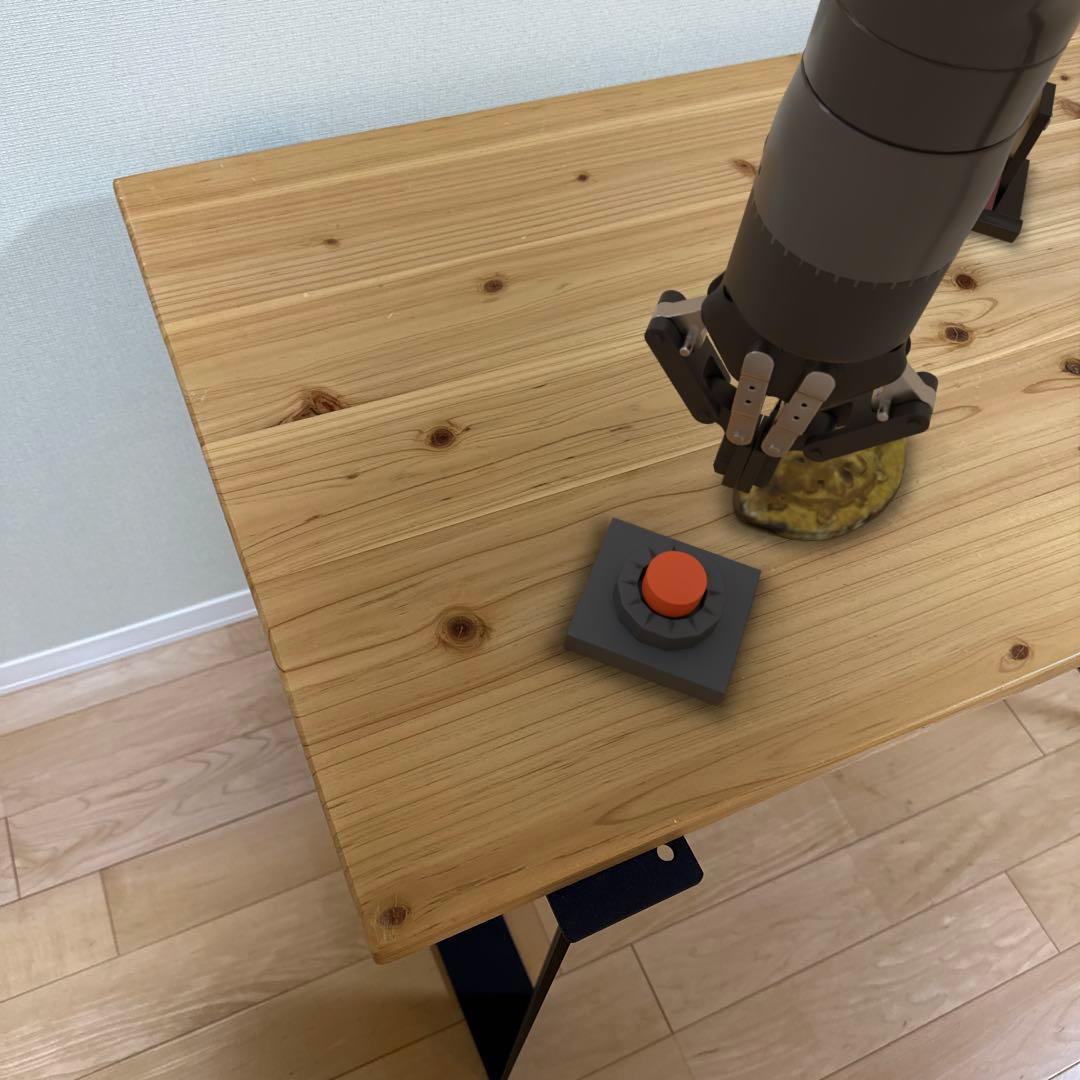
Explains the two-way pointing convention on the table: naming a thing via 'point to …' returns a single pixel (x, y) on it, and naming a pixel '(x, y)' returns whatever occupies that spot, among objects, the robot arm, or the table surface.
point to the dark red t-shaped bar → (997, 220)
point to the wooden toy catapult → (1023, 155)
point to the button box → (662, 616)
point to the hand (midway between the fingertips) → (739, 476)
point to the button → (674, 584)
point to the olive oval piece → (825, 492)
